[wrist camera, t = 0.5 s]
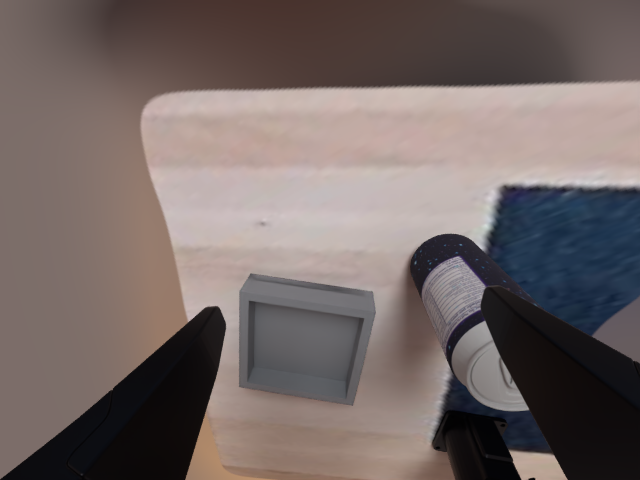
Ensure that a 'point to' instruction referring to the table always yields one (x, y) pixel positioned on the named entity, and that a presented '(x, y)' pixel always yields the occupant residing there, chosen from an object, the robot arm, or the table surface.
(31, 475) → the robot arm
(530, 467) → the table surface
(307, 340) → the tray
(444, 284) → the beverage can
